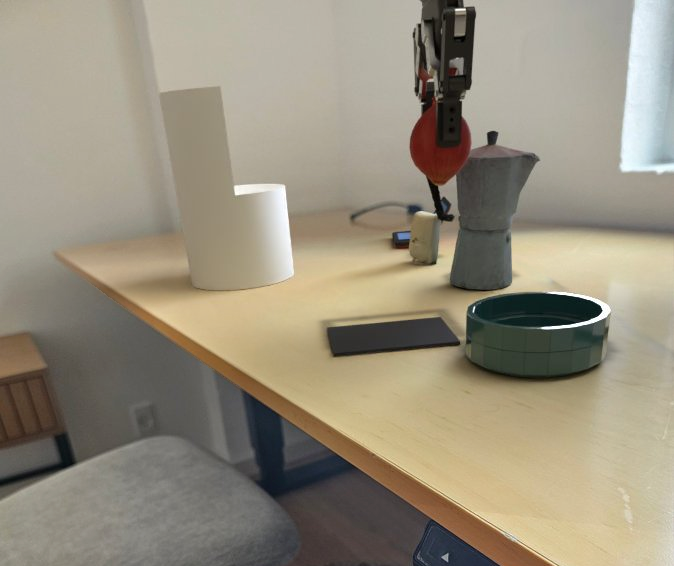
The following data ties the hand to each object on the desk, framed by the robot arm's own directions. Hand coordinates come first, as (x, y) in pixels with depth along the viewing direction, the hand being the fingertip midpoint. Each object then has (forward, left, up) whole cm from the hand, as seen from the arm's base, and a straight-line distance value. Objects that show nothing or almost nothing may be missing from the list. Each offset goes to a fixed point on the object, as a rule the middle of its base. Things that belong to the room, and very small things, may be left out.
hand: (440, 145), depth 63 cm
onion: (0, 0, -4) cm, 4 cm away
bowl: (-8, +6, -20) cm, 22 cm away
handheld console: (-10, -64, -20) cm, 68 cm away
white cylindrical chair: (+24, -45, -20) cm, 54 cm away
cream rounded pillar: (-7, -44, -20) cm, 49 cm away
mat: (+5, -5, -20) cm, 21 cm away
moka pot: (-11, -26, -20) cm, 34 cm away
